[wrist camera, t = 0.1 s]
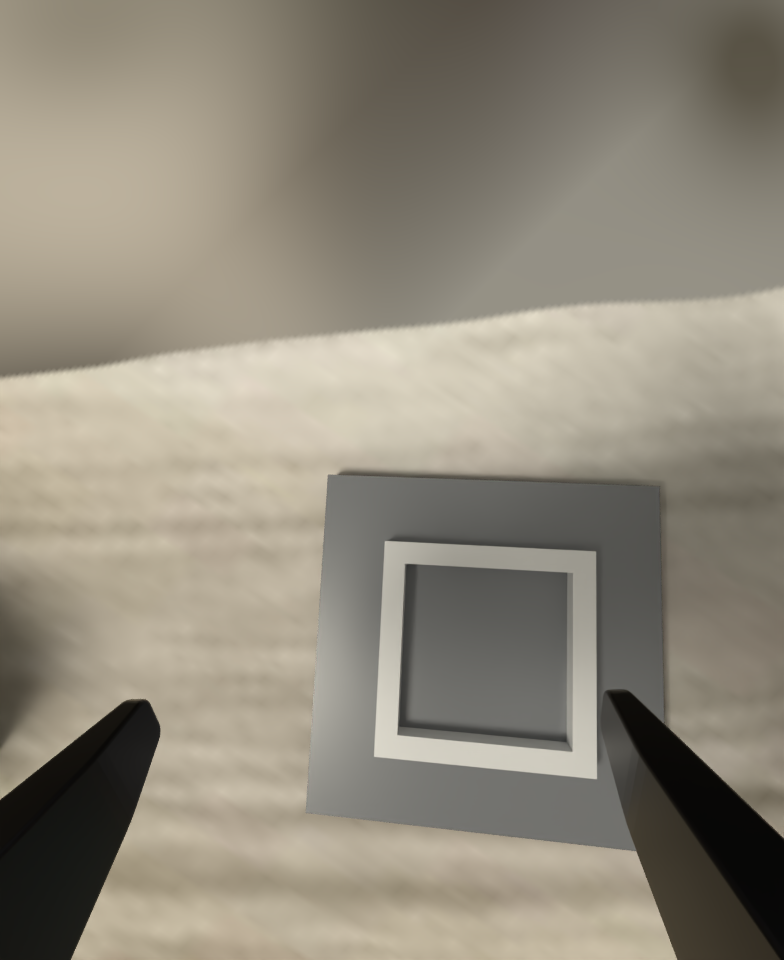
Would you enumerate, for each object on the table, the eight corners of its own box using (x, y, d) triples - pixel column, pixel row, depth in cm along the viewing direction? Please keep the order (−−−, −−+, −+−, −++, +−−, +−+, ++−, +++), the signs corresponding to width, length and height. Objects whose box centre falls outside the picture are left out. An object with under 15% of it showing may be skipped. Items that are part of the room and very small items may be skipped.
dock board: (654, 837, 21) (678, 870, 19) (312, 799, 23) (299, 825, 21) (648, 489, 23) (669, 483, 21) (333, 477, 25) (323, 471, 23)
